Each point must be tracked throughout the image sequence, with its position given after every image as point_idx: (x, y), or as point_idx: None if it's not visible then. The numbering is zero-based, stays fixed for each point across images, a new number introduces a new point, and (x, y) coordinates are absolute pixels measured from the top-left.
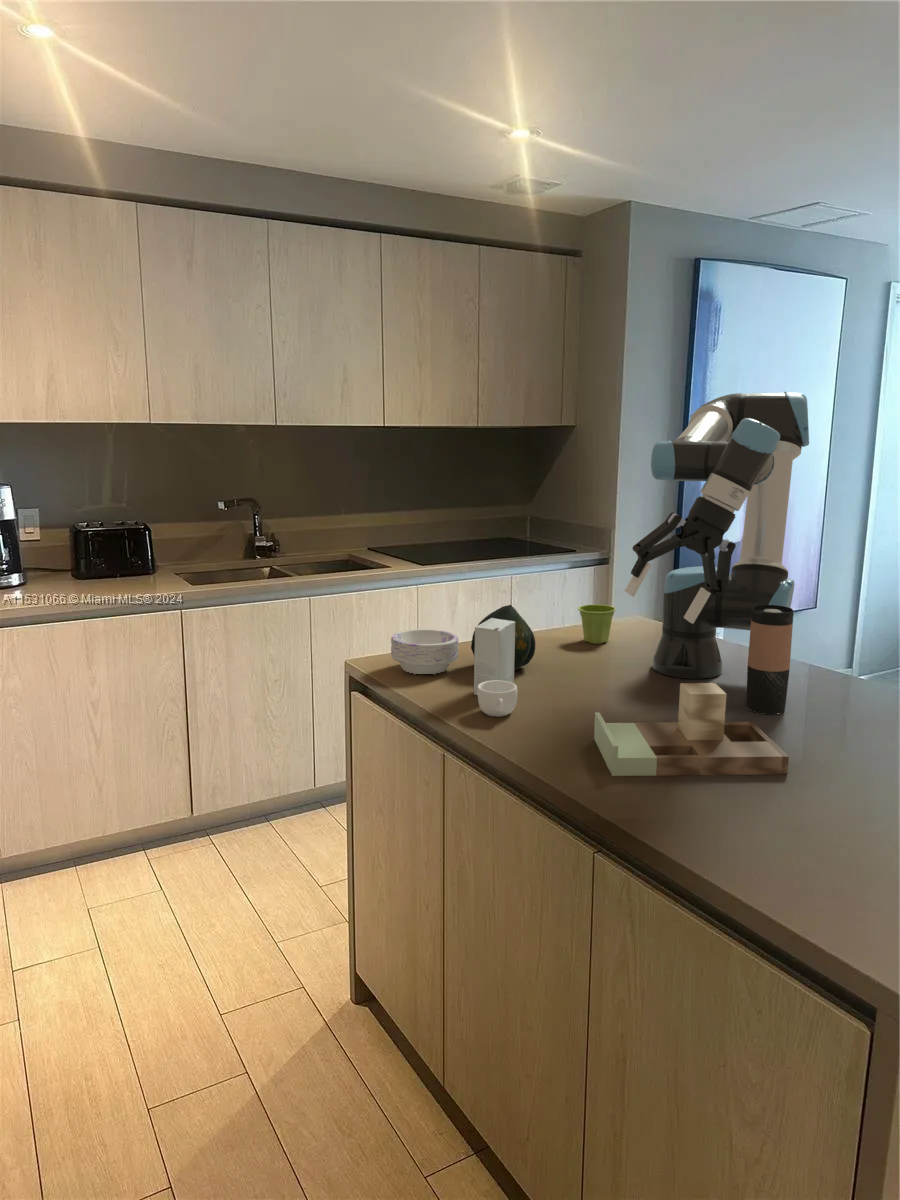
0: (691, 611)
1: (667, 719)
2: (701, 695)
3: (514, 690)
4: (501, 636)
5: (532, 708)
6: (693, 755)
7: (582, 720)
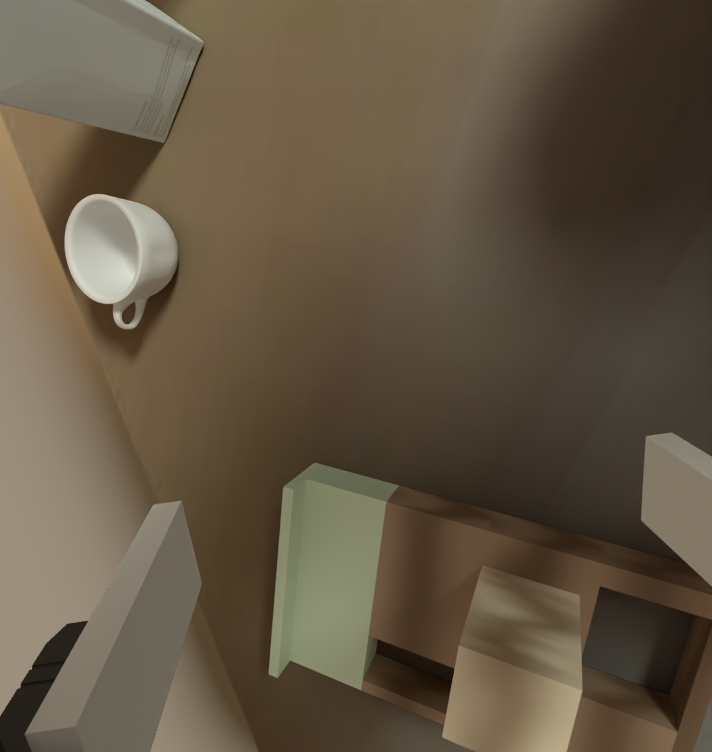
0: (686, 510)
1: (547, 377)
2: (476, 749)
3: (136, 286)
4: (4, 90)
5: (228, 229)
6: (439, 714)
7: (321, 338)
